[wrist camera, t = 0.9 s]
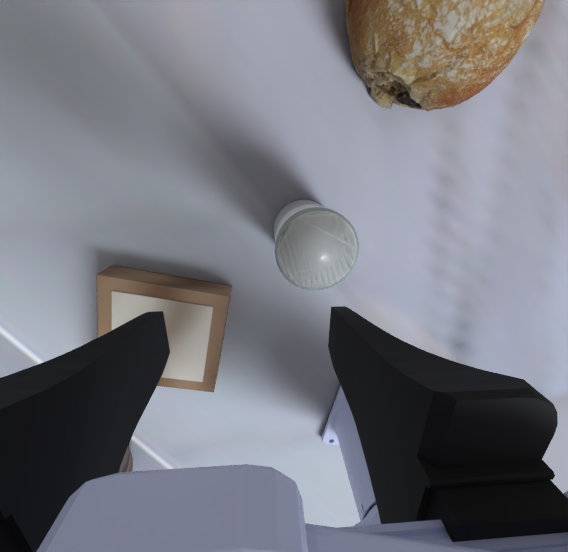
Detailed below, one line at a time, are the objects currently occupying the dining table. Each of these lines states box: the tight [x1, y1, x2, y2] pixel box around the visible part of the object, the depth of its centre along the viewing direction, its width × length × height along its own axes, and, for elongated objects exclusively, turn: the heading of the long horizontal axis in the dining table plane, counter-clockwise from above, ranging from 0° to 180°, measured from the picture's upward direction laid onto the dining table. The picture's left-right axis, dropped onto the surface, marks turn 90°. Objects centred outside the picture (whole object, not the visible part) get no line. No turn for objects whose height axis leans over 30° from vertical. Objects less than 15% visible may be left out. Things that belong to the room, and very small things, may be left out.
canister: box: [274, 200, 359, 290], centre depth 18 cm, size 5×5×6 cm
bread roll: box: [345, 0, 545, 111], centre depth 14 cm, size 10×10×8 cm
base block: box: [97, 266, 232, 392], centre depth 22 cm, size 9×9×2 cm
